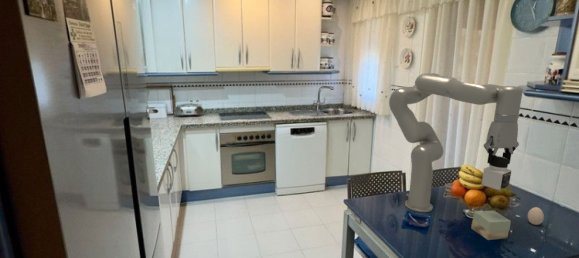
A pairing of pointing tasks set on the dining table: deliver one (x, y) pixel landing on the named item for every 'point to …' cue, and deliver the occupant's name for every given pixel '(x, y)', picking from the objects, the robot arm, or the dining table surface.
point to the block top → (491, 221)
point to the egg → (535, 216)
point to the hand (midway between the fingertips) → (498, 163)
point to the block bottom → (487, 234)
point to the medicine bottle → (497, 174)
